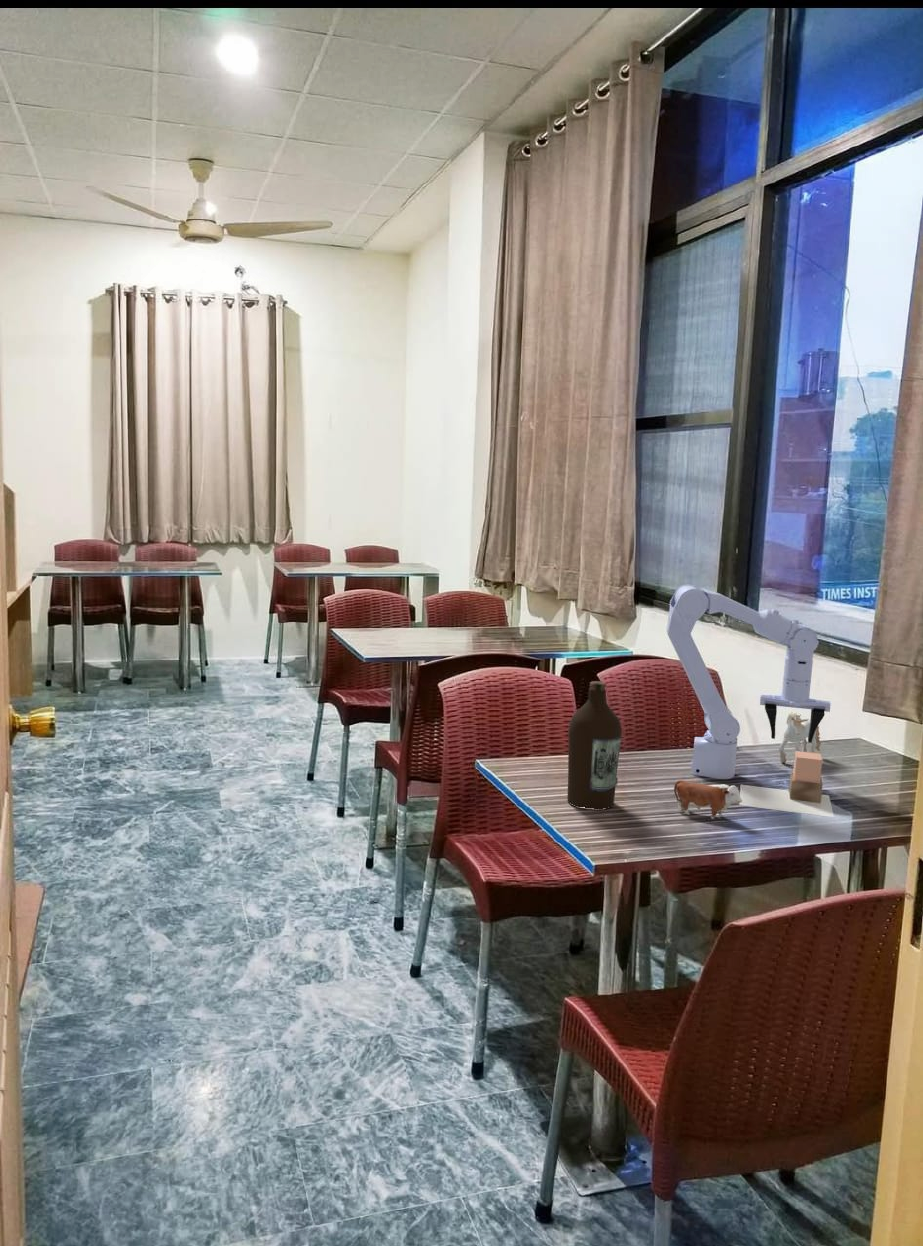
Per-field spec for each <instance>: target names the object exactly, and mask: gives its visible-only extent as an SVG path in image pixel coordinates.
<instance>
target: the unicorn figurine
mask: <svg viewBox="0 0 923 1246" xmlns="http://www.w3.org/2000/svg"><path fill="white" fill-rule="evenodd" d="M801 716H802V715H801V714H797V712H793V711H791V712H790V713H788V716H787V719H786V725H787V726H786V728H785V729H784V731H783V738H782V741H781V743H780V745H779V748H778V751H779V760H780V762H781V763H782V764H785V763H786V762H787V758H786V757H787V754H786V753H785V752H784V750H785V746H786V745H787V744H788V742H789V743H793V744H794V746H795V747H794V748H795V751H800V750H801V752H808V751H807V744H808V743H807V742H808V740H807V739H808V734H809V728H810V720H811V718H810V719H809V718H806V719H804V718H803V719H802V718H800V717H801ZM819 730H820V725H818V727H817V729H816V731H815V733H814V736H813V739H812V743H811V744H812V745H811V748H810V750H809V752H810V753H816V750H817V751H818V752H820V751H821V750H820V747H821V746H822V742H821V740H820V739H821V737H820V731H819ZM801 742H802V749H800V743H801Z"/></svg>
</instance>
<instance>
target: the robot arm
mask: <svg viewBox="0 0 923 1246" xmlns="http://www.w3.org/2000/svg"><path fill="white" fill-rule="evenodd" d="M668 610H669V612H668V616H667V617H668V618H667V626H666V634H667V636H668V639H669V640H670V643H671V645H672V647H673V649H674V651H675V653H676V655H677V658H678V659H679V661H680V663H681V665H682V667H683V669H684V671H685V673H686V676H687V677H688V680H689V682H690V684H691V686H692V689H693V690H694V693H695V694H696V697H697V699H698V702H699V703H700V706H701V708H702V710H703V712H704V725H705V726H706V727H707V728H708V729H707V730H706V732H705V733H704V734H703V736H702V737H701V736H695V737H694V740H693V741H694V743H693V753H692V760H691V763H690V769H691V775H693V776H699V777H700V776H701V777H706V778H712V779H718V780H728V779H733V778H735V772H736V771H735V770H736V759H737V747H738V737H739V734H740V733H741V732H740V731H741V726H740V723H739V721H738V719H737V718H736V717H734V715H733V714H732V712H731V710H730V709H729V708H728V707H727V706H726V704H725V702H724V700H723V699H722V697H721V695H720V693H719V691H718V689H717V686H716V684H715V683H714V681H713V677H712V676H711V674H710V672H709V670H708V668H707V665H706V664H705V662H704V660H703V657H702V655H701V653H700V651H699V649H698V647H697V645H696V643H695V640H694V639H693V636H692V631H693V630H694V627H695V626H696V623H697V621H699V619H701V617H702V616H703V615H704V614H705V613H707V614H709V615H712V614H716V613H722V614H724V615H727V616H729V617H732V618H733V619H736V620H737V619H738V620H740V621H741V622H745V623H747V624H750V625H752V626H753V630H754V633H756V634H758V635H760V636H761V637H763V638H764V637H765V638H766V639H768V640H771V641H773V642H775V643H778V644H780V645H786V651H785V652H786V653H785V659H784V669H783V677H782V679H783V680H782V689H781V691H782V692H781V695H773V694H772V695H771V694H770V695H769V694H767V695H766V694H760V700H759V706H764V710H765V713H766V716H767V718H768V722H769V725H770V733H771V738H770V739H773V740H776V720H777V714H778V713H777V710H778V709H777V707H783V708H796V709H803V710H804V709H805V710H810V719H811V720H810V719H809V720H810V728H809V734H808V737H807V742H808V743H809V744H810V743H811V744H812V739H813V736H814V733H815V731H816V729H817V727H818V726H820V725H819V724H821V722H822V720H823V719H824V716H825V712H827V713H830V712H831V706H832V705H831V701H828V700H821V699H815V698H810V694H811V693H810V692H811V686H812V685H811V684H812V683H811V682H812V672H813V671H812V670H813V663H814V651H816V649H817V648H818V646H819V642H820V641H819V640H818V636H817V633H816V632H815V631H814V630H813V629H812V628H810V627H808V626H807V625H805V624H803V623H802V622H800V621H799V620H798V619H796V618H793V619H791V618H788V617H786V616H784V615H782V614H780V611H778V610H777V609H774V608H772V609H771V610H770V609H768V608H767V609H763V610H760V611H757V610H755V609H754V608H753V609H752V608H751V607H748V606H747V605H744V604H742V603H741V602H738V601H736V600H733V599H731V598H730V597H727V596H726V595H724V594H721V593H719V592H716V591H713V590H708V589H706V588H702V587H701V588H699V587H698V586H695V585H693V584H688V583H687V584H683V585H681V586H679V587H678V588H676V590H675V592H674V594H673V595H672V597H671V599H670V600H669V609H668ZM808 743H807V744H808ZM697 770H699V771H697Z"/></svg>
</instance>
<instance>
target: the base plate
mask: <svg viewBox="0 0 923 1246" xmlns="http://www.w3.org/2000/svg"><path fill="white" fill-rule="evenodd" d="M739 793H740V798H741V799H742V802H741V803H738V804H739V805H738V806H743V807H744V806H745V807H750V808H756V809H757V808H759V809H767V810H774V811H780V812H788V813H789V812H790V813H796V814H805V815H811V816H817V817H818V816H820V817H826V818H827V817H828V818H835V816H834V811H833V807H832V803H831V798H830V795H827V794H822V795H821V803H815V802H807V801H799V800H792V799H790V795H789V789H788V790H787V789H780V788H773V787H772V788H771V787H763V786H762V787H761V786H756V785H755V786H754V785H749V784H748V785H745V784H740V786H739Z"/></svg>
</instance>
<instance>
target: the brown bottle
mask: <svg viewBox="0 0 923 1246" xmlns="http://www.w3.org/2000/svg"><path fill="white" fill-rule="evenodd" d="M606 686H607V683H606V682H605V681H599V680H595V681H594V680H592V681H591V682H589V688H588V699H587V701H586V702H585V703H584V704H583V705H582V706H581V707H580V708H578V710H577V711H576V712H575V713H573V715H572V717H571V718H570V720H569V724H568V731H567V733H568V734H567V735H568V736H567V737H568V739H567V740H568V742H567V743H568V744H567V745H568V746H567V747H568V749H567V750H568V753H567V754H568V758H567V759H568V763H567V770H568V771H567V802H568V804H569V803H571V804H573V805H575V806H578V807H585V808H594V809H603V808H608V807H611V808H612V807H613V806H614V804H615V795H616V794H615V793H616V787H617V786H618V779H619V778H618V777H617V775H618V766H619V758H620V750H621V742H622V733H623V732H622V729H623V728H622V725H621V721H620V719H619V717H618V715H617V714H616V713H615V712H614V710H612V708H611V707H610V706H609V704H608V703H607V702H606V698H607V697H606V696H607V690H606ZM571 804H570V805H571Z"/></svg>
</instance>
